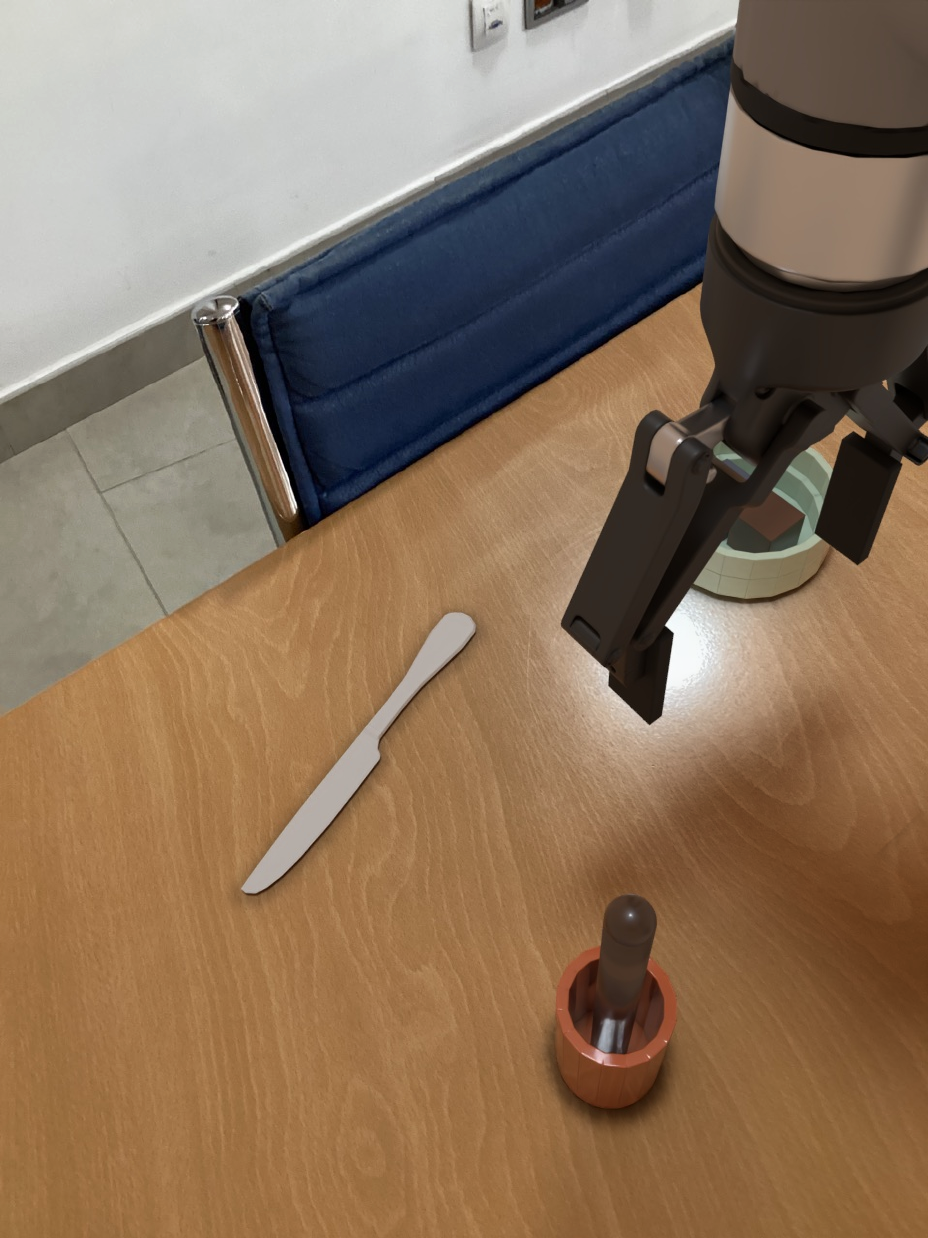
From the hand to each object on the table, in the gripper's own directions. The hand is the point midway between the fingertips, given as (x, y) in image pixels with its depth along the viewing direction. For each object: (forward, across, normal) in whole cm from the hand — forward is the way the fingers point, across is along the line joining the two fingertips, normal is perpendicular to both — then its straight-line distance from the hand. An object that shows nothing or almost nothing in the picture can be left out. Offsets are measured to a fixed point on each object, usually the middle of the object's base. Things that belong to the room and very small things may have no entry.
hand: (741, 620), depth 50 cm
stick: (+19, +14, +7) cm, 25 cm away
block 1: (+19, -17, -15) cm, 30 cm away
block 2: (+19, -17, -11) cm, 28 cm away
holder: (+20, +14, +7) cm, 26 cm away
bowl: (+20, -17, -13) cm, 29 cm away
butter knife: (+20, +14, -17) cm, 29 cm away
